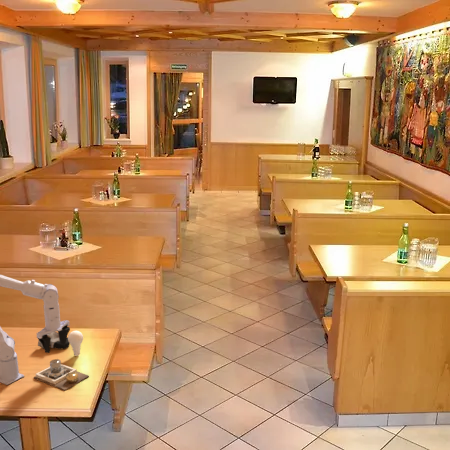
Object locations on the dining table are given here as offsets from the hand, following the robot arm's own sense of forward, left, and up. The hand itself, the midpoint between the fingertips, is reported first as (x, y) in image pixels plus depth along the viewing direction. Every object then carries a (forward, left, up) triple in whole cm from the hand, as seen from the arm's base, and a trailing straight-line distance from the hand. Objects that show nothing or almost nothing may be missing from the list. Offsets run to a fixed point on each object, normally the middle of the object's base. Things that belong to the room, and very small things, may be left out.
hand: (55, 348), depth 224 cm
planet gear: (+3, -3, -9) cm, 10 cm away
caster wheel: (-17, +14, -10) cm, 24 cm away
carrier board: (+6, -3, -9) cm, 11 cm away
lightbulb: (-3, +13, -10) cm, 16 cm away
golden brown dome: (+12, -3, -9) cm, 16 cm away
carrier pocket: (+3, -3, -9) cm, 10 cm away
